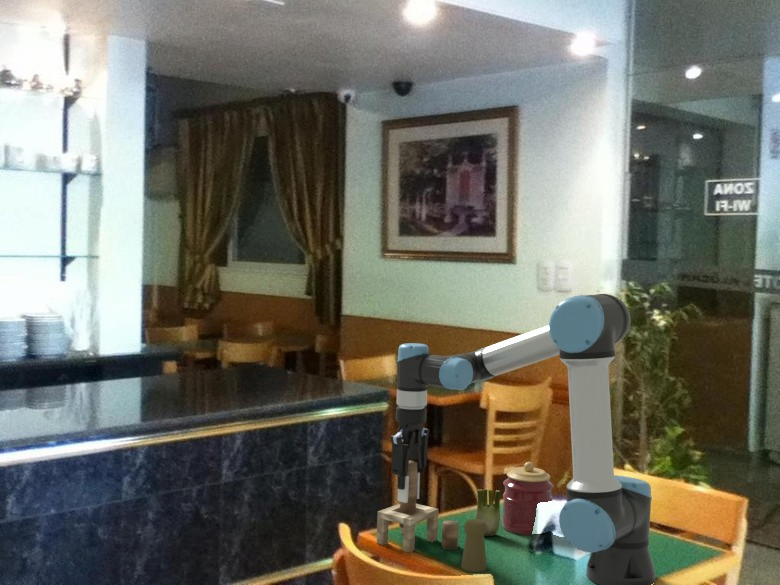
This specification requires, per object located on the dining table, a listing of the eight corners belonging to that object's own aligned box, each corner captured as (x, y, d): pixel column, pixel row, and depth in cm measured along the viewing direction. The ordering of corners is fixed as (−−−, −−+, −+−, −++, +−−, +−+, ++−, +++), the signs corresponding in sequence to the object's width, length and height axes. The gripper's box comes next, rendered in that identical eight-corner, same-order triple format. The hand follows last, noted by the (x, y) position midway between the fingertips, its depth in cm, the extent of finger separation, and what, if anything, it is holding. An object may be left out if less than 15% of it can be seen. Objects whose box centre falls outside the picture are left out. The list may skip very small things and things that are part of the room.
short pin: (461, 546, 234) (461, 522, 234) (452, 550, 231) (452, 526, 230) (447, 543, 236) (448, 519, 236) (438, 547, 233) (439, 523, 233)
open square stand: (437, 540, 238) (438, 508, 238) (409, 552, 229) (410, 519, 228) (405, 531, 244) (406, 501, 244) (376, 543, 235) (377, 511, 234)
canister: (492, 523, 253) (494, 458, 252) (533, 518, 259) (536, 454, 258) (519, 538, 241) (521, 470, 240) (561, 532, 247) (564, 465, 246)
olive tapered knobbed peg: (485, 572, 216) (487, 525, 216) (459, 570, 218) (460, 523, 217) (488, 563, 222) (490, 517, 222) (462, 561, 224) (464, 515, 223)
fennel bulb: (500, 534, 244) (502, 488, 243) (492, 539, 240) (494, 493, 239) (480, 530, 247) (481, 485, 246) (472, 535, 243) (473, 489, 242)
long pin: (418, 525, 237) (420, 462, 235) (409, 529, 233) (411, 465, 232) (405, 522, 239) (407, 459, 238) (396, 526, 236) (398, 462, 235)
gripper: (418, 399, 243) (415, 489, 245) (378, 408, 230) (375, 503, 231) (443, 403, 239) (440, 495, 240) (403, 413, 225) (400, 510, 227)
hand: (408, 499), depth 236 cm, fingers closed on long pin, 4 cm apart
